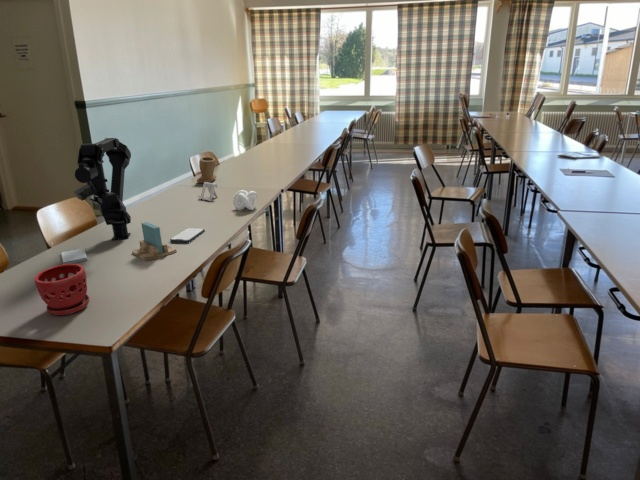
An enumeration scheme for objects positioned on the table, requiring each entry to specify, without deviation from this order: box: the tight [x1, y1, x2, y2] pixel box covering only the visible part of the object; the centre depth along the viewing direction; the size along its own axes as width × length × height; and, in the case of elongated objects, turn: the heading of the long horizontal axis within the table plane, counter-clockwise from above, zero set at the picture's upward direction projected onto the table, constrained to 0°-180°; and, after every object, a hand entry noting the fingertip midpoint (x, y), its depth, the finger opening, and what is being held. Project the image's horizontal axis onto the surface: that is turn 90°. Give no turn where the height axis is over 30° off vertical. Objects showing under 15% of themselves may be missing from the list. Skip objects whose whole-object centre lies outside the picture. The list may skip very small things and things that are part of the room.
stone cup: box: [196, 156, 217, 184], centre depth 296 cm, size 15×12×15 cm
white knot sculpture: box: [232, 189, 258, 211], centre depth 237 cm, size 11×12×9 cm
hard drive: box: [60, 247, 89, 265], centre depth 184 cm, size 2×8×12 cm
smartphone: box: [169, 227, 206, 244], centre depth 202 cm, size 9×2×16 cm
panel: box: [141, 221, 163, 253], centre depth 184 cm, size 10×2×10 cm, turn 46°
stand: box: [131, 239, 178, 262], centre depth 185 cm, size 12×12×4 cm
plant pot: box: [33, 263, 91, 316], centre depth 142 cm, size 13×13×12 cm
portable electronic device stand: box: [197, 182, 219, 202], centre depth 258 cm, size 9×8×8 cm
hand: (103, 216), depth 188 cm, fingers closed
